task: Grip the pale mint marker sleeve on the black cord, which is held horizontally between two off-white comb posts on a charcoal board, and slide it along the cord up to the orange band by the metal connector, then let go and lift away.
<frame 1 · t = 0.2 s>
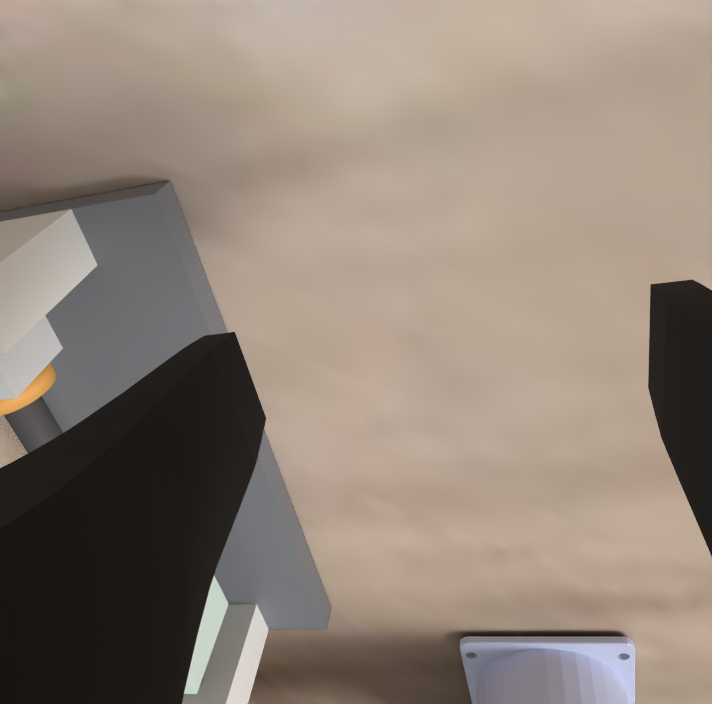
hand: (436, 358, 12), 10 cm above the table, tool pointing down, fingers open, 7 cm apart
marker sleeve: (151, 616, 26), point 5 cm above the table, slide at 0.0 cm
cord rig: (158, 447, 28), on the table
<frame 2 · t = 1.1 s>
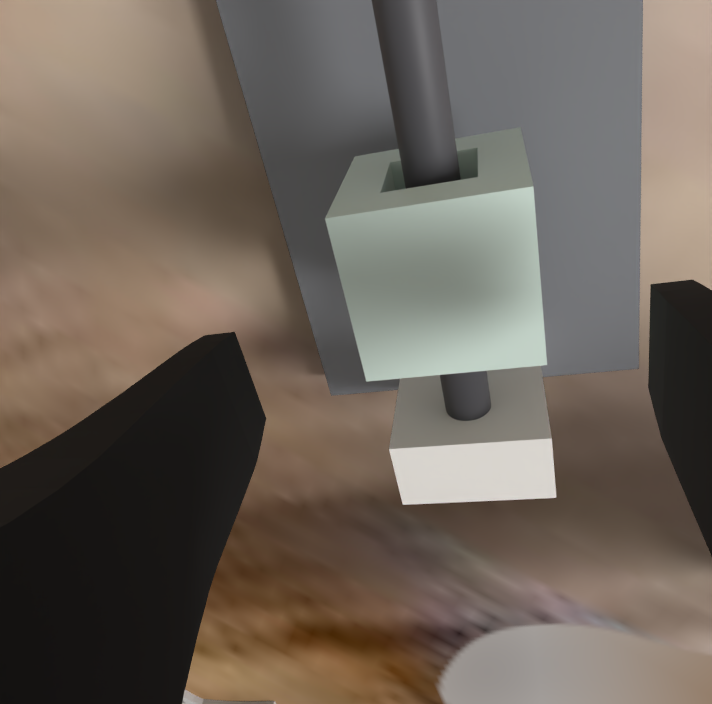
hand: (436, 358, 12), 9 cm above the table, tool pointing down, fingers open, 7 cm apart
marker sleeve: (444, 253, 15), point 5 cm above the table, slide at 0.0 cm
pliers: (131, 661, 38), on the table
cord rig: (426, 12, 17), on the table
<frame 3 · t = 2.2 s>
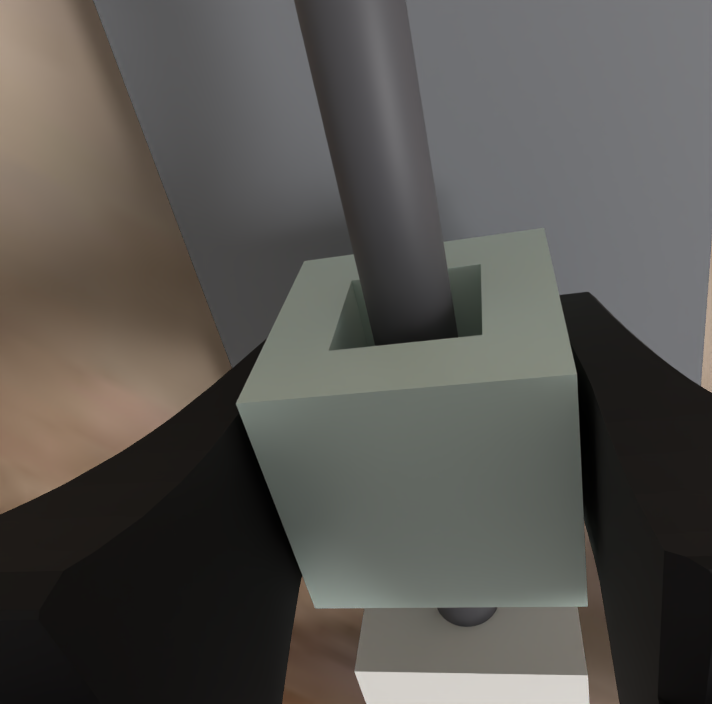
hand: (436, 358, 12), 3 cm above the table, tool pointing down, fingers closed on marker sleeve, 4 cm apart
marker sleeve: (431, 415, 10), point 5 cm above the table, slide at 0.0 cm, touching gripper
cord rig: (407, 52, 12), on the table
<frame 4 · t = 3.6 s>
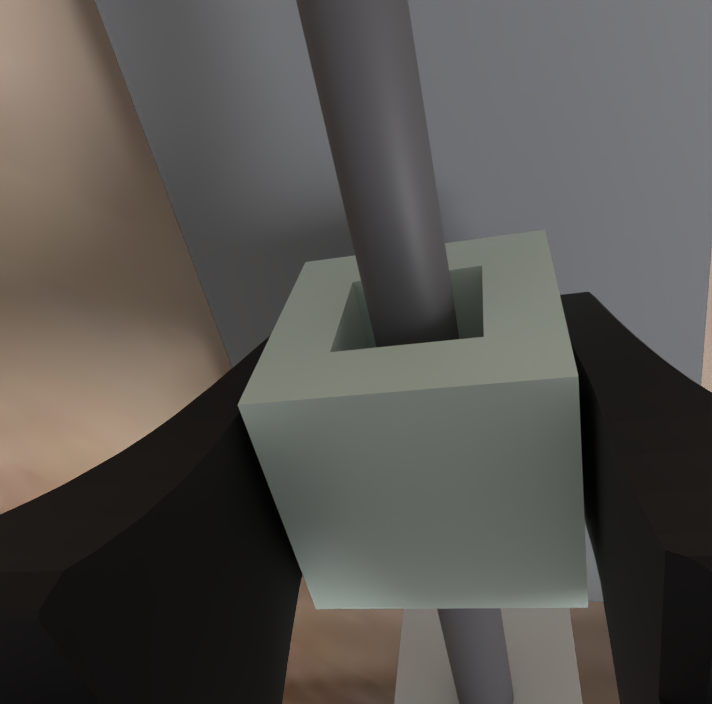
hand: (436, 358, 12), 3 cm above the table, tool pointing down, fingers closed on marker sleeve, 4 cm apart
marker sleeve: (432, 416, 10), point 5 cm above the table, slide at 3.3 cm, touching gripper
cord rig: (435, 219, 14), on the table
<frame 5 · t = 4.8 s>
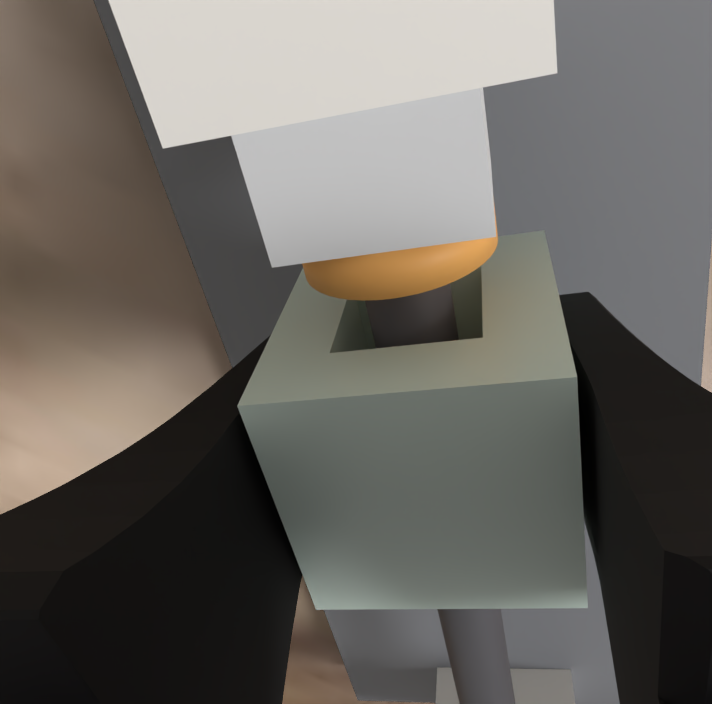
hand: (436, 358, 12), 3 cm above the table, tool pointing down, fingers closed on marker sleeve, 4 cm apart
marker sleeve: (431, 417, 10), point 5 cm above the table, slide at 8.4 cm, touching gripper
cord rig: (465, 413, 16), on the table
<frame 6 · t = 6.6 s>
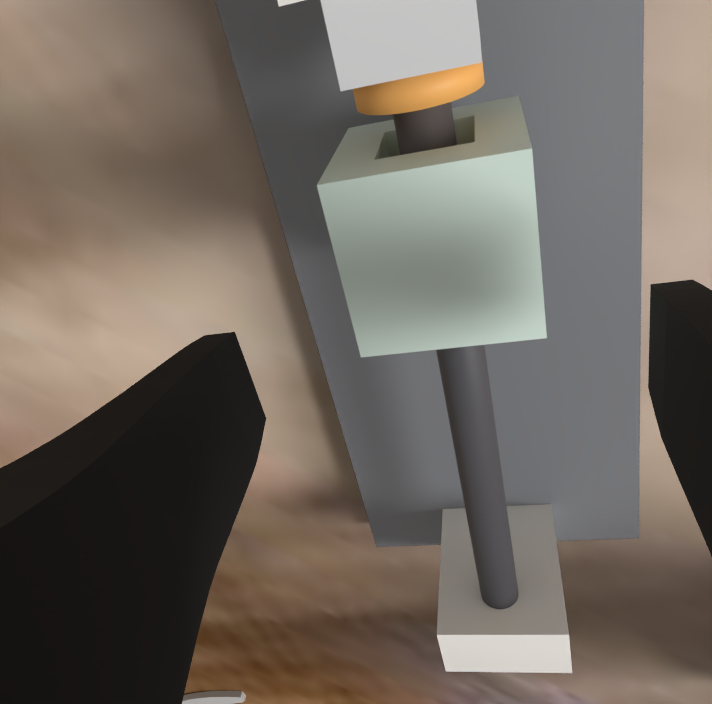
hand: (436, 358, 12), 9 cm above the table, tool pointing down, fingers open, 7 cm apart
marker sleeve: (440, 225, 15), point 5 cm above the table, slide at 8.5 cm
cord rig: (465, 278, 21), on the table
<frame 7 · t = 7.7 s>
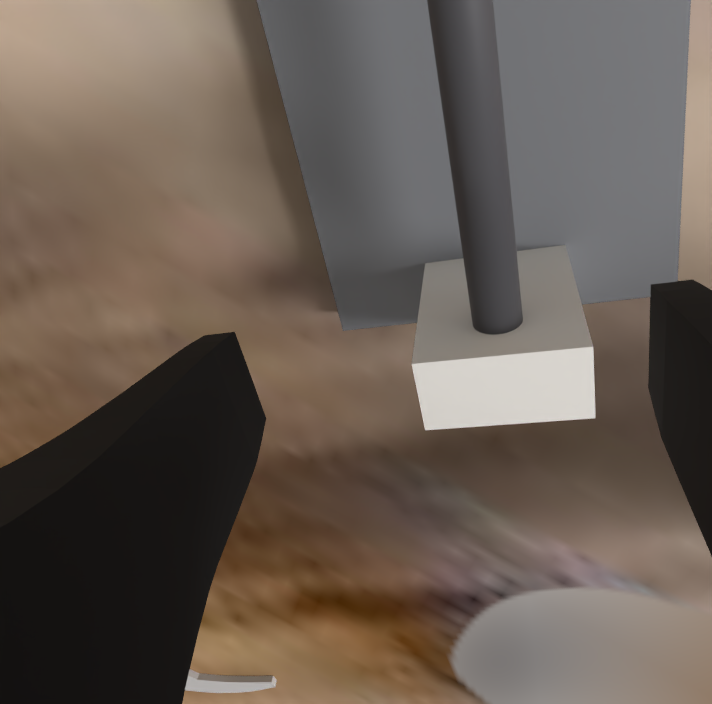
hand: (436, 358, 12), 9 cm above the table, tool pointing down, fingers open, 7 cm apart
pliers: (124, 633, 37), on the table
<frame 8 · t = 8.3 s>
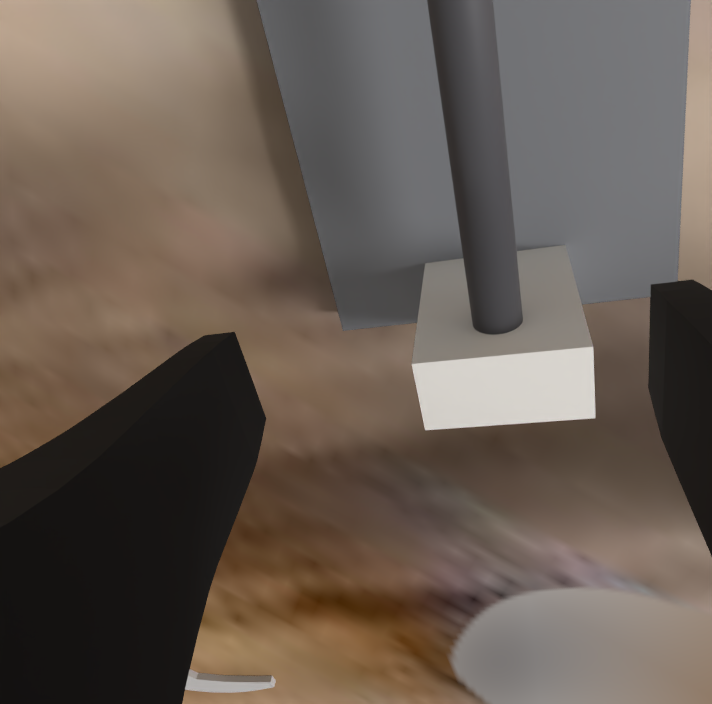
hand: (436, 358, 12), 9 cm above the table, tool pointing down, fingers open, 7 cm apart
pliers: (123, 632, 37), on the table
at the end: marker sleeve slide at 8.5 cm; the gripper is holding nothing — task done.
